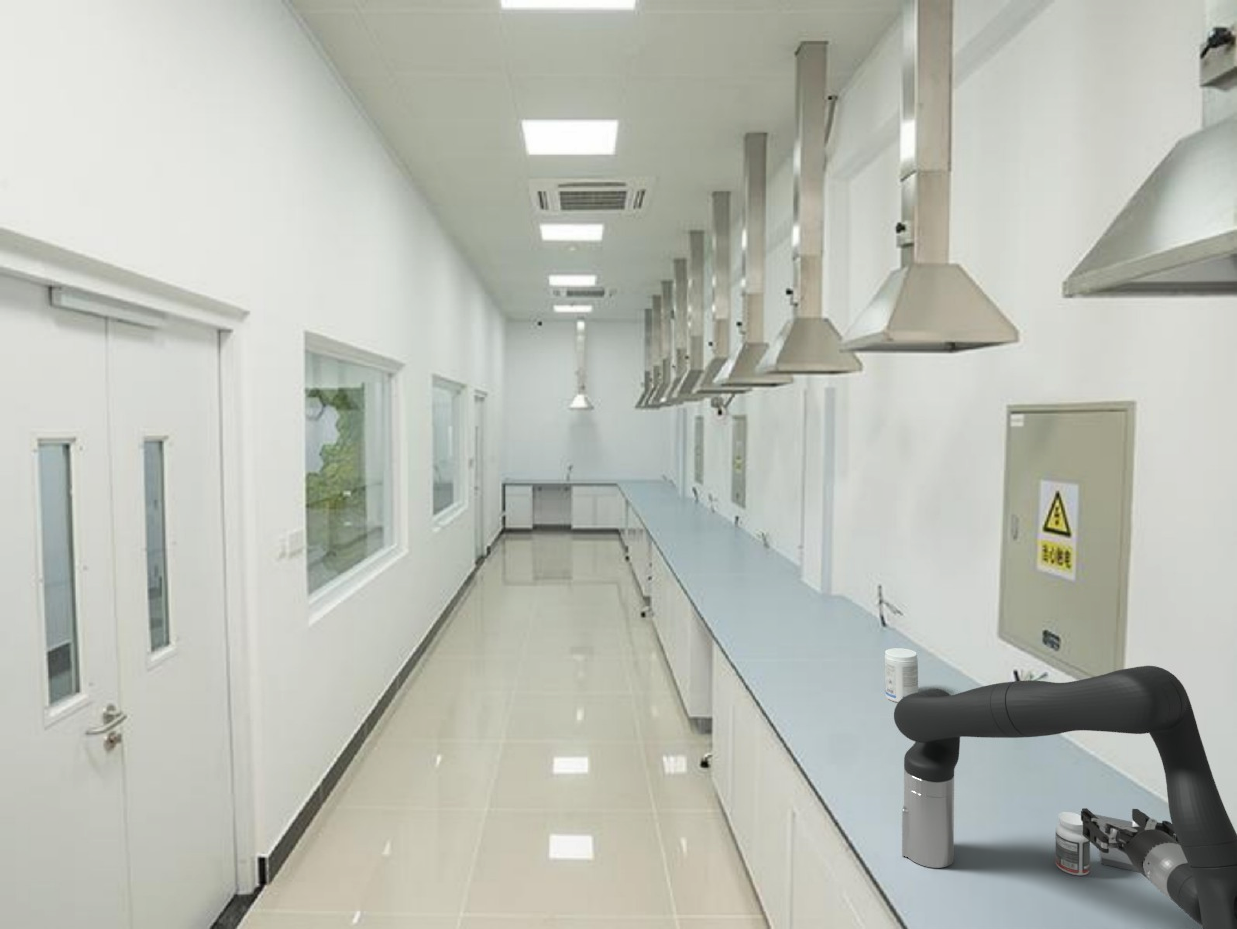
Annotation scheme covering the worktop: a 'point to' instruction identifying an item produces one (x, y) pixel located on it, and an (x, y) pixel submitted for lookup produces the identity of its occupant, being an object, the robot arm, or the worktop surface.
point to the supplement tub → (900, 673)
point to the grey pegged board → (1115, 855)
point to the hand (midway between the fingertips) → (1108, 813)
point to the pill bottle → (1071, 845)
